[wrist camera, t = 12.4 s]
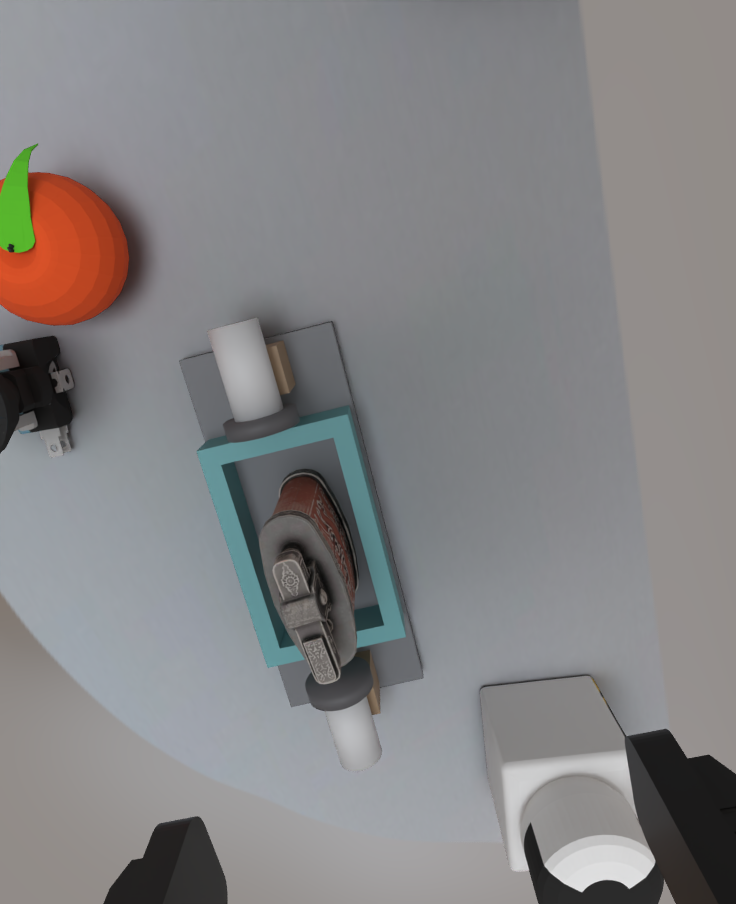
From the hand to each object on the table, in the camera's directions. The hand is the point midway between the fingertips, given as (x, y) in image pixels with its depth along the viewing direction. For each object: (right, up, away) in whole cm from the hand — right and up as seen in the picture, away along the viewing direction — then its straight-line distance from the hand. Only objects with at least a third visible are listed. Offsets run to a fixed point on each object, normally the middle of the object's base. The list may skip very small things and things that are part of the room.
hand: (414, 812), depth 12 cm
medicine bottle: (+10, -11, +29) cm, 33 cm away
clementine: (-16, +18, +22) cm, 32 cm away
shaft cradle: (-4, +2, +26) cm, 26 cm away
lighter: (-4, +2, +25) cm, 25 cm away
